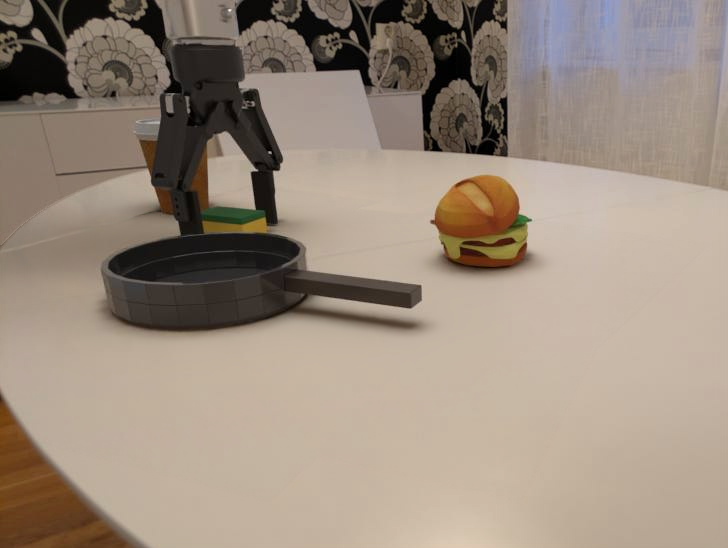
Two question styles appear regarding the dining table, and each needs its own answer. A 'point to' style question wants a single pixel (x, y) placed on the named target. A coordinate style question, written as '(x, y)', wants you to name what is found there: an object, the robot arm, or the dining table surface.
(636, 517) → the dining table surface
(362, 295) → the pan handle
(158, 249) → the pan
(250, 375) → the dining table surface
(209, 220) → the sponge
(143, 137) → the disposable coffee cup
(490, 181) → the cheeseburger
